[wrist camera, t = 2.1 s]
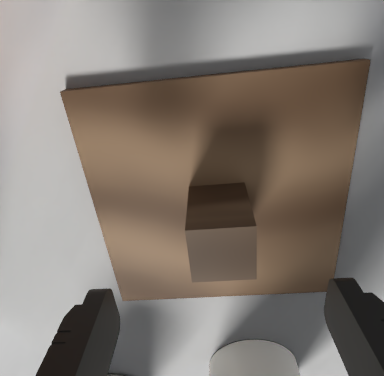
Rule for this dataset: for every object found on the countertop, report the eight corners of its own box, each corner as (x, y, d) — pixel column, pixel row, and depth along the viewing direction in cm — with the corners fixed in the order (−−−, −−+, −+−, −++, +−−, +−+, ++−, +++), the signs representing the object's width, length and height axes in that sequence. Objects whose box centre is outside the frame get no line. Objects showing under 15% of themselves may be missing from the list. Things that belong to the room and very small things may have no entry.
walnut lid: (70, 87, 15) (10, 112, 10) (357, 57, 14) (434, 70, 9) (126, 287, 21) (105, 357, 17) (324, 277, 20) (360, 349, 16)
